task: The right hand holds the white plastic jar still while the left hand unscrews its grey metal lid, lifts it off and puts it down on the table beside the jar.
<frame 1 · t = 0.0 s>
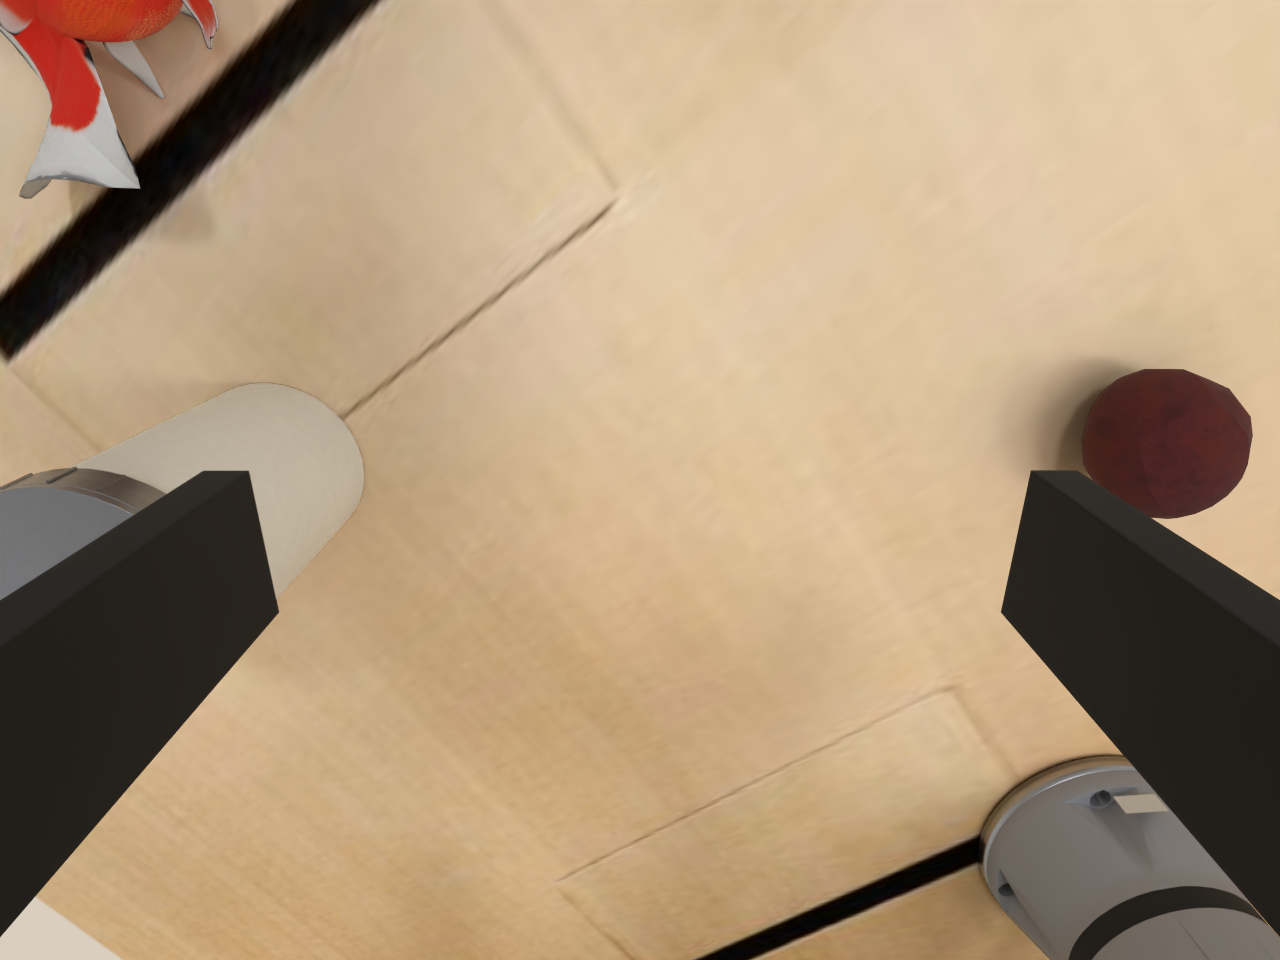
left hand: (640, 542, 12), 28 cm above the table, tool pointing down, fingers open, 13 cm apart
potato: (1118, 420, 41), on the table
lid: (84, 612, 27), point 16 cm above the table, screwed on, not yet turned
fish: (146, 64, 34), on the table
jar: (279, 465, 42), on the table
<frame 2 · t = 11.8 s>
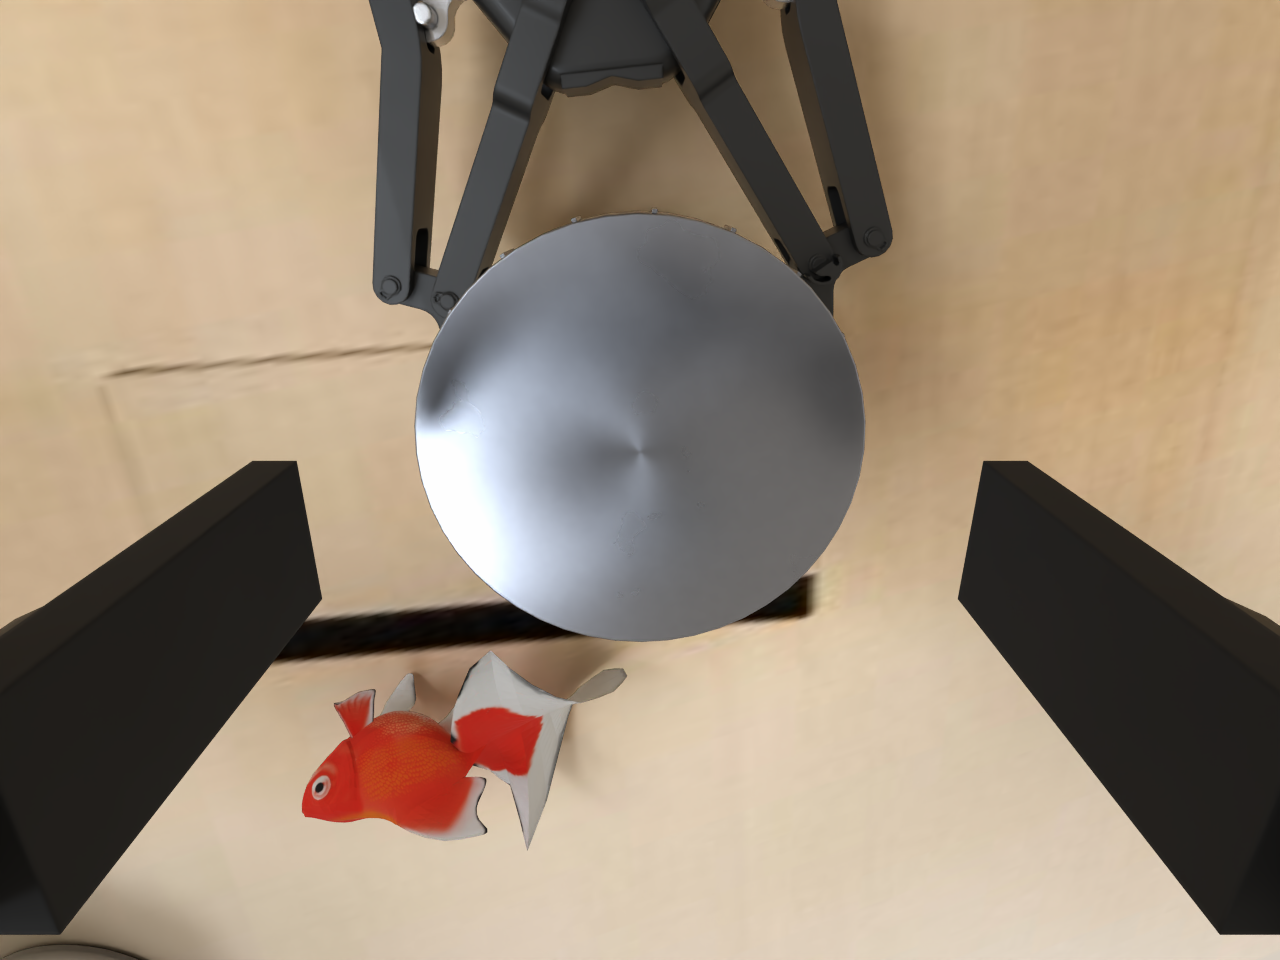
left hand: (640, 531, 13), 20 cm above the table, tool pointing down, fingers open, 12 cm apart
lid: (639, 447, 17), point 16 cm above the table, screwed on, not yet turned
fish: (486, 682, 39), on the table
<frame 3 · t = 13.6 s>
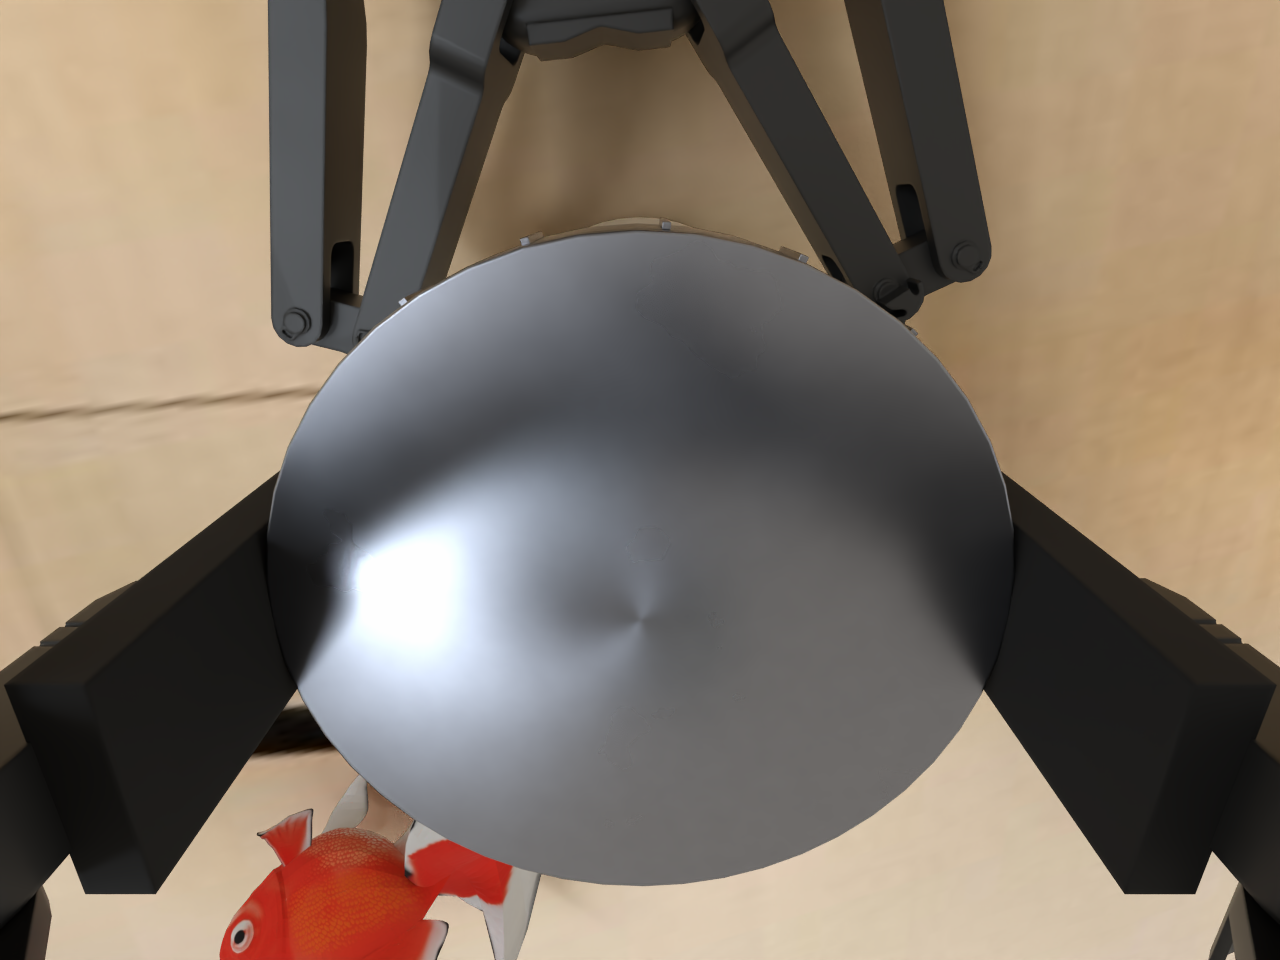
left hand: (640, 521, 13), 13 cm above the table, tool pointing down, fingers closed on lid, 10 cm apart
lid: (640, 606, 11), point 16 cm above the table, screwed on, not yet turned, touching left hand
fish: (455, 783, 32), on the table
jar: (640, 365, 25), on the table, touching right hand
when the left hand's fingers open (13 cm above the table, at t = 15.1 s): lid stays where it is, point 16 cm above the table.
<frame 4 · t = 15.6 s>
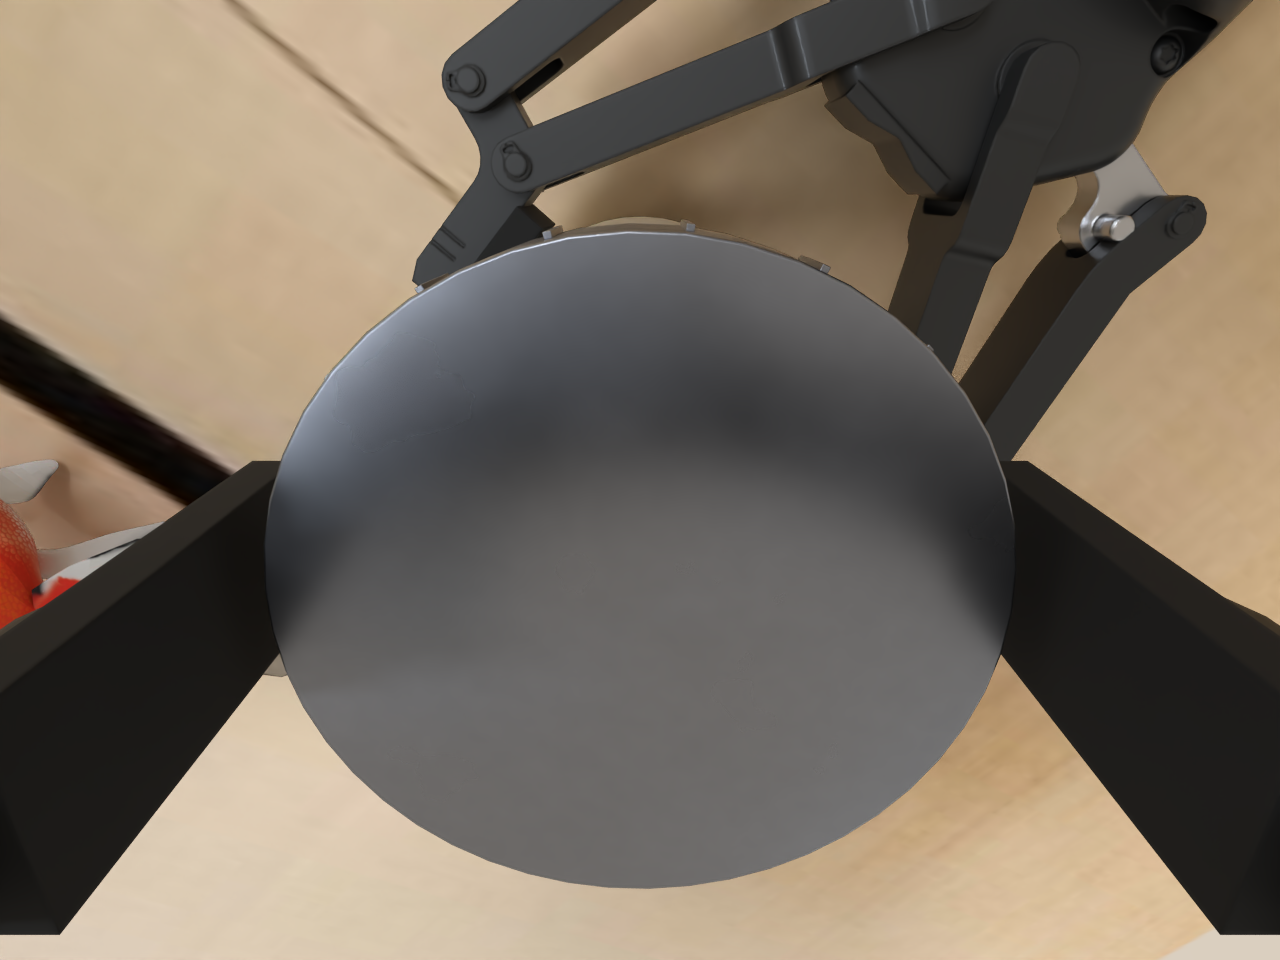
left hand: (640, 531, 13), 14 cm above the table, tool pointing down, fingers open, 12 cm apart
lid: (640, 608, 10), point 16 cm above the table, turned 100° so far, risen 0.3 cm, still on its thread
fish: (142, 540, 28), on the table
jar: (640, 363, 25), on the table, touching right hand
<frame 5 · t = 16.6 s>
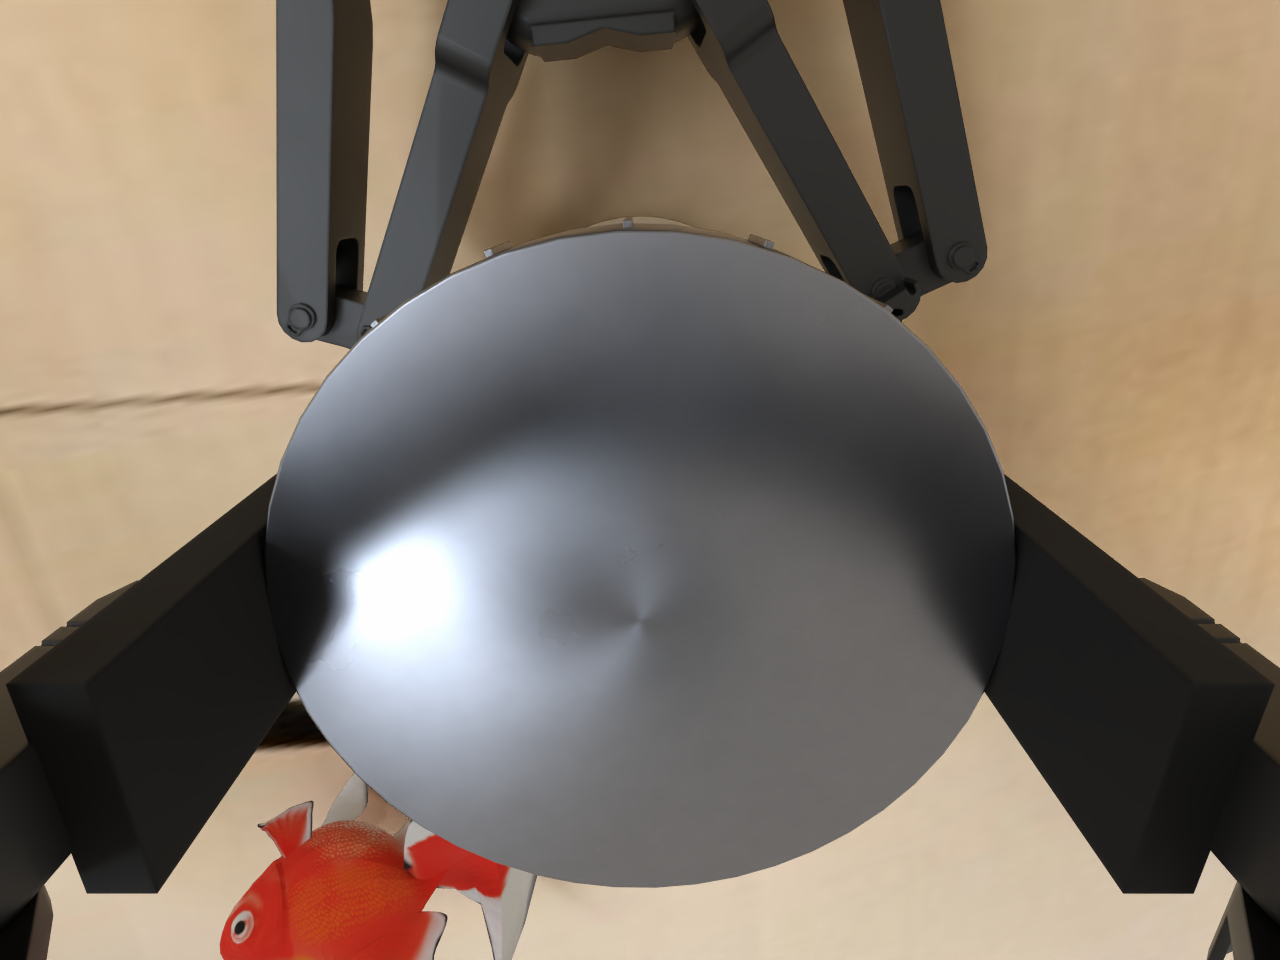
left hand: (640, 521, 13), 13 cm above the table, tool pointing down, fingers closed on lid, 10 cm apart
lid: (640, 607, 11), point 16 cm above the table, turned 100° so far, risen 0.3 cm, still on its thread, touching left hand
fish: (454, 777, 32), on the table
jar: (640, 363, 25), on the table, touching right hand
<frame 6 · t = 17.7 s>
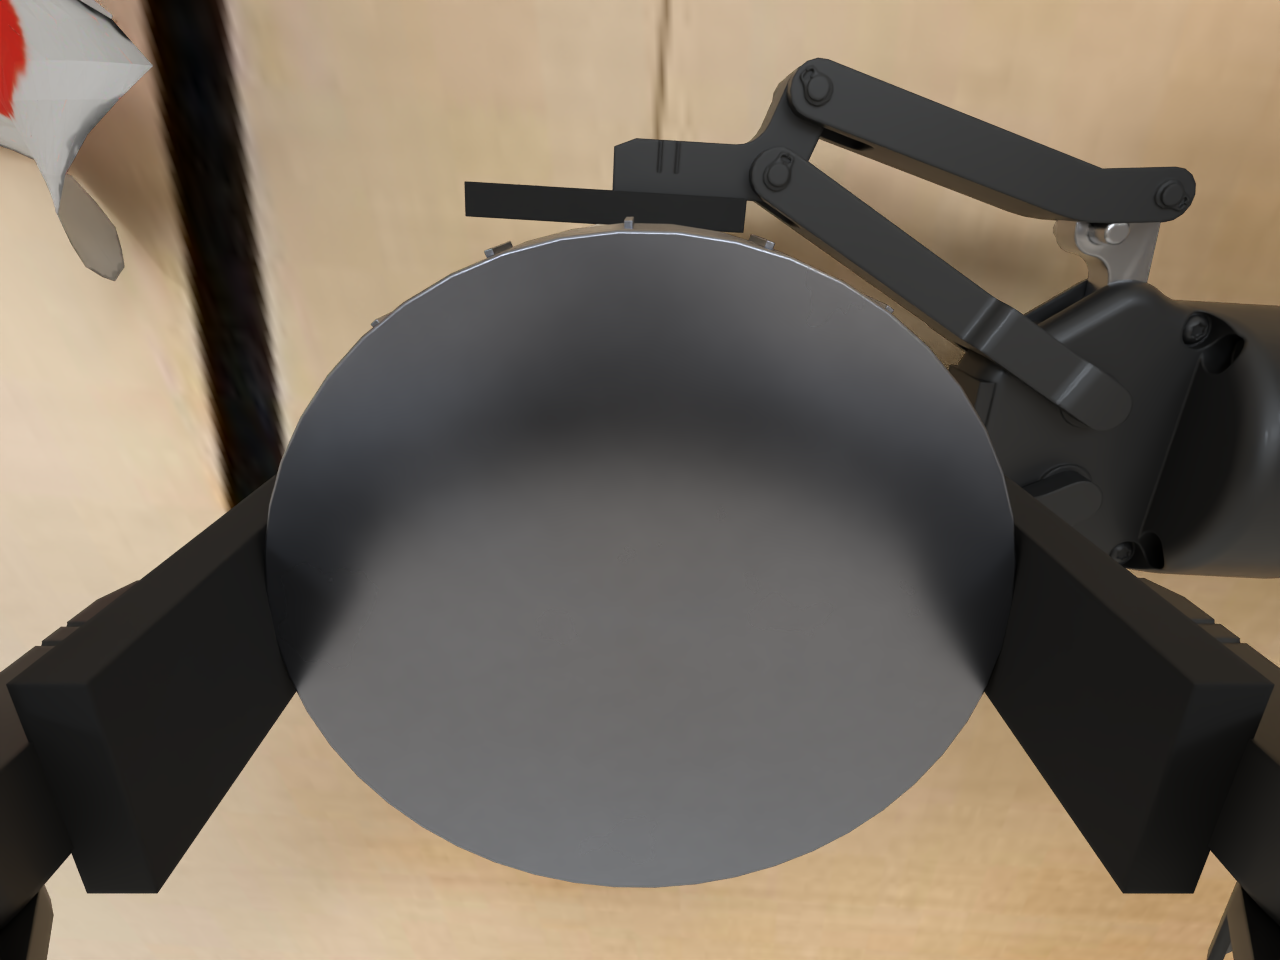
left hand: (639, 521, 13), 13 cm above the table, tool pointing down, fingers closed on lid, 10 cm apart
lid: (640, 607, 11), point 16 cm above the table, off its thread, touching left hand
fish: (64, 2, 22), on the table
when the left hand's fingers open (0 cm above the table, at t = 23.4 s): lid drops 2 cm, point 2 cm above the table.
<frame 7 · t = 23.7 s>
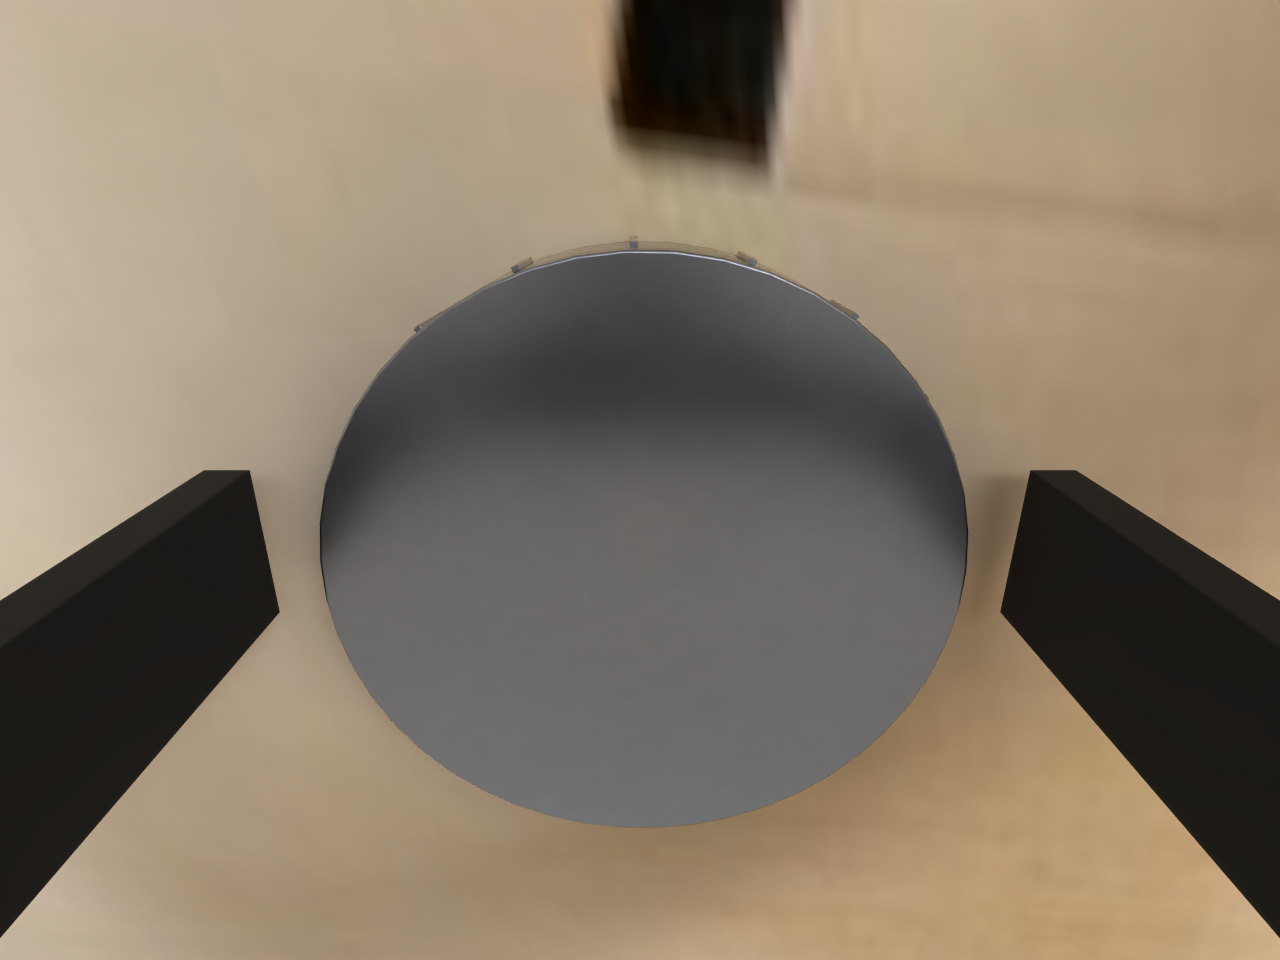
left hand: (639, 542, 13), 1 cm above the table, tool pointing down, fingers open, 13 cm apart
lid: (643, 575, 12), point 2 cm above the table, off its thread
when the right hand's fingers open (6 cm above the table, at t = 24.4 s): jar stays where it is, on the table.
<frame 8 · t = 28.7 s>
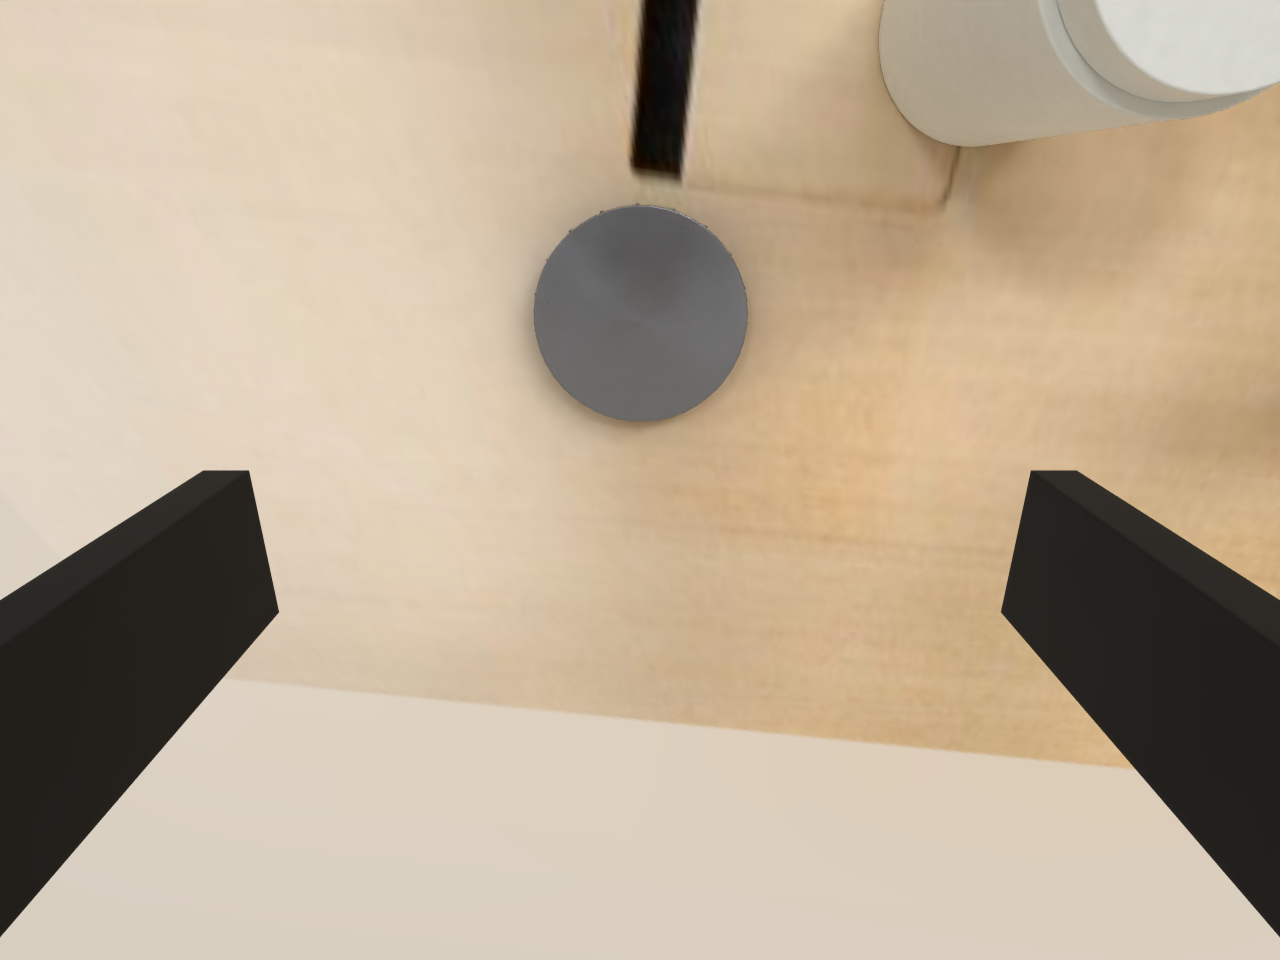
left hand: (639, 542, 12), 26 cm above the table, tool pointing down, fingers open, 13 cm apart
lid: (640, 318, 36), point 2 cm above the table, off its thread
jar: (987, 27, 33), on the table
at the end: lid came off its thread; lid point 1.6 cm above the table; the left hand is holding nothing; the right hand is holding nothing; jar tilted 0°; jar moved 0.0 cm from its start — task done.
